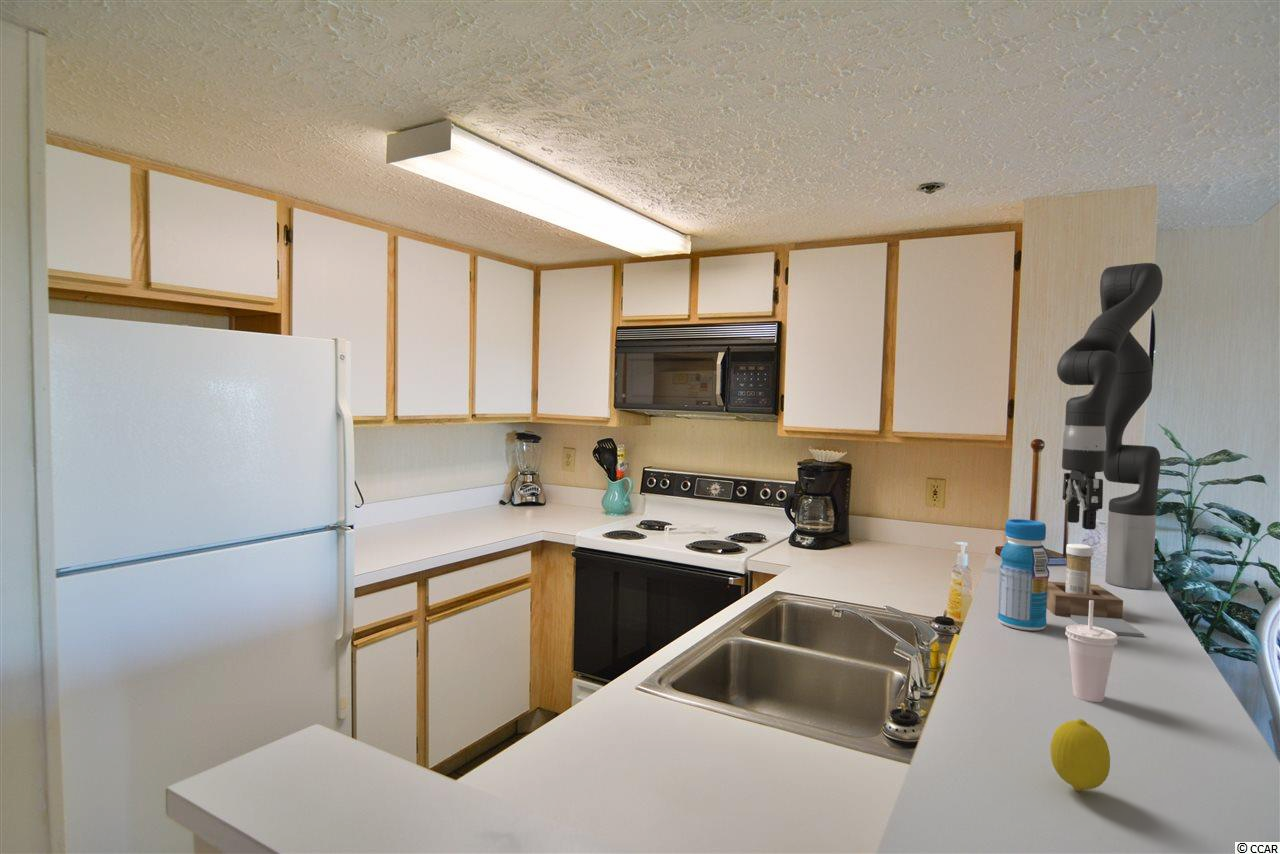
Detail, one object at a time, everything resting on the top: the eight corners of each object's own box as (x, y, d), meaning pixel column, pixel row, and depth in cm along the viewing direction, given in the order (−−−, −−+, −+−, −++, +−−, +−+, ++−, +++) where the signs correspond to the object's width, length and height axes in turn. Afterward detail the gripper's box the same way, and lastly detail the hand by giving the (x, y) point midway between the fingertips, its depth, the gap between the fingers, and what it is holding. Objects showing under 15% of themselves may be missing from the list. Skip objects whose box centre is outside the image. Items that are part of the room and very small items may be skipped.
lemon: (1038, 778, 78) (1040, 708, 78) (1083, 776, 79) (1086, 707, 79) (1072, 806, 73) (1075, 732, 73) (1121, 804, 73) (1124, 731, 73)
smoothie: (1107, 691, 103) (1111, 598, 102) (1121, 709, 97) (1125, 610, 96) (1057, 684, 105) (1061, 593, 104) (1068, 702, 99) (1073, 605, 98)
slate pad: (1070, 617, 138) (1070, 614, 138) (1121, 621, 136) (1121, 618, 136) (1088, 632, 129) (1088, 629, 129) (1143, 637, 127) (1143, 633, 127)
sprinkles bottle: (1093, 610, 143) (1096, 546, 143) (1083, 613, 141) (1086, 548, 140) (1070, 604, 147) (1073, 542, 146) (1059, 607, 145) (1062, 544, 144)
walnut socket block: (1035, 598, 151) (1036, 580, 151) (1097, 603, 148) (1097, 584, 148) (1054, 615, 139) (1055, 595, 139) (1122, 620, 137) (1123, 600, 136)
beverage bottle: (999, 628, 131) (1003, 523, 130) (994, 615, 138) (998, 516, 138) (1050, 634, 127) (1055, 527, 127) (1043, 621, 135) (1047, 520, 134)
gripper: (1119, 450, 135) (1116, 533, 135) (1090, 446, 149) (1086, 521, 149) (1077, 449, 136) (1073, 530, 137) (1051, 445, 150) (1048, 519, 151)
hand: (1080, 525), depth 143 cm, fingers open, 8 cm apart
